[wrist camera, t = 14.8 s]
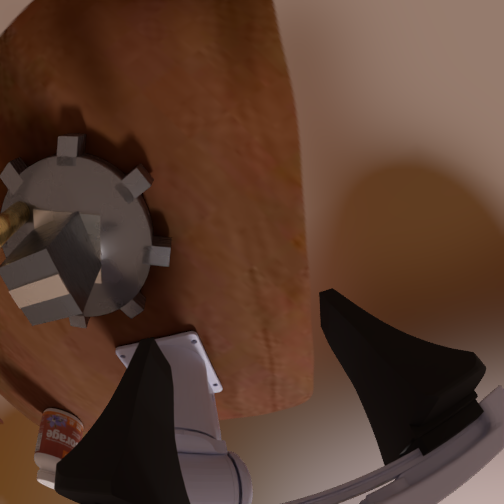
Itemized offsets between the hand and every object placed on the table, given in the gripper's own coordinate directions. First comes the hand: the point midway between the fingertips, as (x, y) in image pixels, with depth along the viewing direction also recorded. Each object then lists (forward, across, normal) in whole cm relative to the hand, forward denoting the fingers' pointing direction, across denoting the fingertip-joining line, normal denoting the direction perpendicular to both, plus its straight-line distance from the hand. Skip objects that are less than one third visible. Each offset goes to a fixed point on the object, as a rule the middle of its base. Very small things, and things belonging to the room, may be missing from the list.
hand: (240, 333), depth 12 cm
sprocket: (+10, +10, -3) cm, 14 cm away
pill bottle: (+10, +28, +20) cm, 36 cm away
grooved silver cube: (+8, +10, -3) cm, 13 cm away
